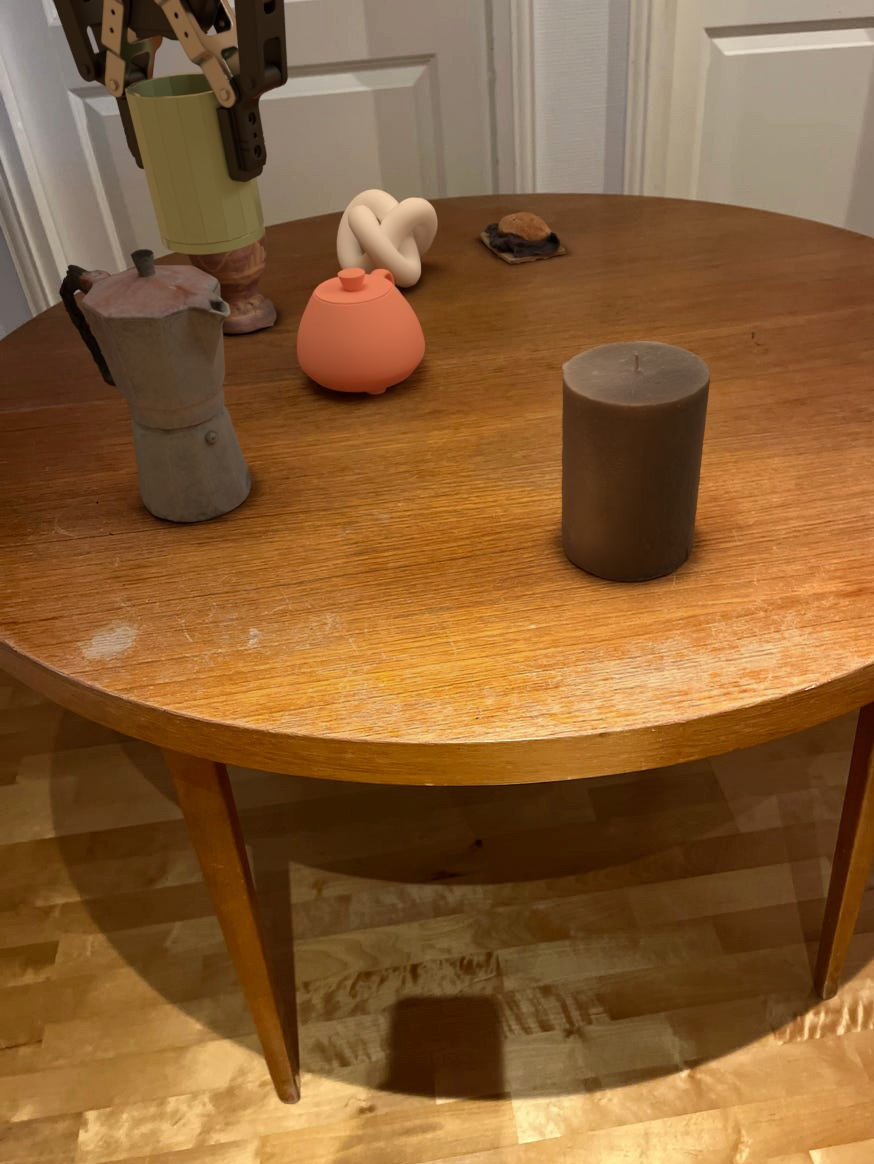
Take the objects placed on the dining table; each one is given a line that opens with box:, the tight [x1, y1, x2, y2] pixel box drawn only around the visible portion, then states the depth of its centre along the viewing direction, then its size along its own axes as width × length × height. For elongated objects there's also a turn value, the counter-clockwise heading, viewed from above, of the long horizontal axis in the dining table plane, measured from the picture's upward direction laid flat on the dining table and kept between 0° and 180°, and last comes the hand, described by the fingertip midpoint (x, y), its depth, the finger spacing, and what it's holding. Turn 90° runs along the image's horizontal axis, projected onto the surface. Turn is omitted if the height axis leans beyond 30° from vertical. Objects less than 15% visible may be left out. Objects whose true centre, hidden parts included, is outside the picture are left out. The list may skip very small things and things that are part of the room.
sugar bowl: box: [296, 268, 426, 395], centre depth 93 cm, size 12×14×10 cm
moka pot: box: [58, 248, 253, 523], centre depth 74 cm, size 10×15×20 cm, turn 70°
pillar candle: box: [560, 340, 711, 582], centre depth 68 cm, size 10×10×15 cm
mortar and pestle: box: [187, 233, 278, 334], centre depth 101 cm, size 12×9×20 cm
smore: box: [479, 211, 566, 265], centre depth 120 cm, size 11×8×4 cm
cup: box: [125, 71, 266, 255], centre depth 55 cm, size 6×6×8 cm
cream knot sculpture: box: [336, 188, 438, 289], centre depth 112 cm, size 11×12×9 cm
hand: (200, 171), depth 55 cm, fingers closed on cup, 6 cm apart
